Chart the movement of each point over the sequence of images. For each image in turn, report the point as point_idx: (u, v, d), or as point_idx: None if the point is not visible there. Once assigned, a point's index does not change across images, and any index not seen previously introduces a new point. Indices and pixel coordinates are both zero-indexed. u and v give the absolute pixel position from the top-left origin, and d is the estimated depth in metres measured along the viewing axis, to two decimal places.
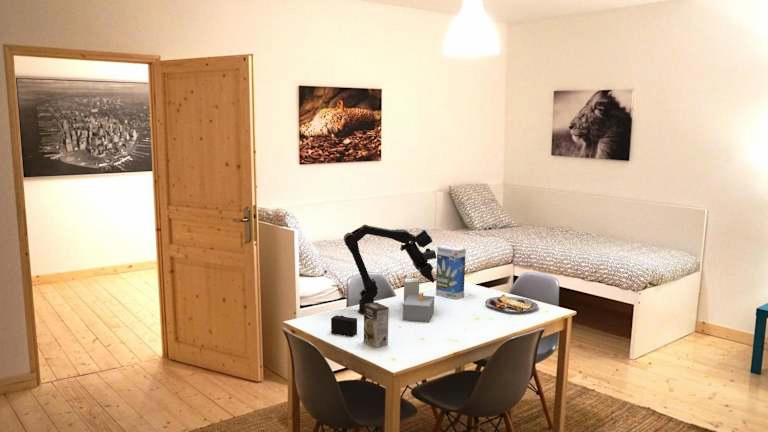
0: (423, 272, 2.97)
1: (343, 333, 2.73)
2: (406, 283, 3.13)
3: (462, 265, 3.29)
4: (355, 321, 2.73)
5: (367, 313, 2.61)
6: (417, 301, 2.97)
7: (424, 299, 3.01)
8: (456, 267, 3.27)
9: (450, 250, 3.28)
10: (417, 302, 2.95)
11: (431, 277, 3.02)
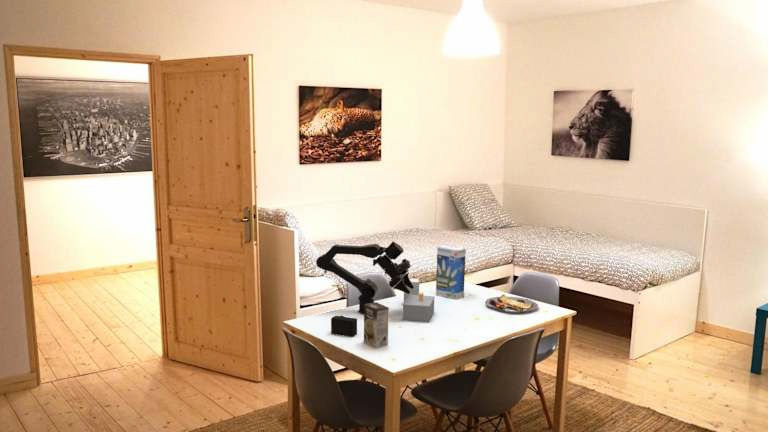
0: (392, 285, 2.91)
1: (343, 333, 2.73)
2: None
3: (462, 265, 3.29)
4: (355, 321, 2.73)
5: (367, 313, 2.61)
6: (417, 301, 2.97)
7: (424, 299, 3.01)
8: (456, 267, 3.27)
9: (450, 250, 3.28)
10: (417, 302, 2.95)
11: (405, 288, 2.94)
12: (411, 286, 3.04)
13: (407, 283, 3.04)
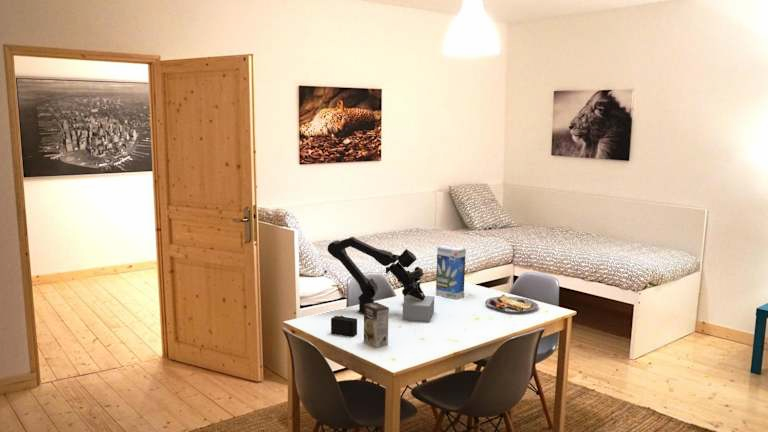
0: (405, 293, 2.91)
1: (343, 333, 2.73)
2: None
3: (462, 265, 3.29)
4: (355, 321, 2.72)
5: (367, 313, 2.61)
6: (417, 301, 2.97)
7: (424, 299, 3.01)
8: (456, 267, 3.27)
9: (450, 250, 3.28)
10: (417, 302, 2.95)
11: (419, 295, 2.96)
12: (423, 296, 3.00)
13: None
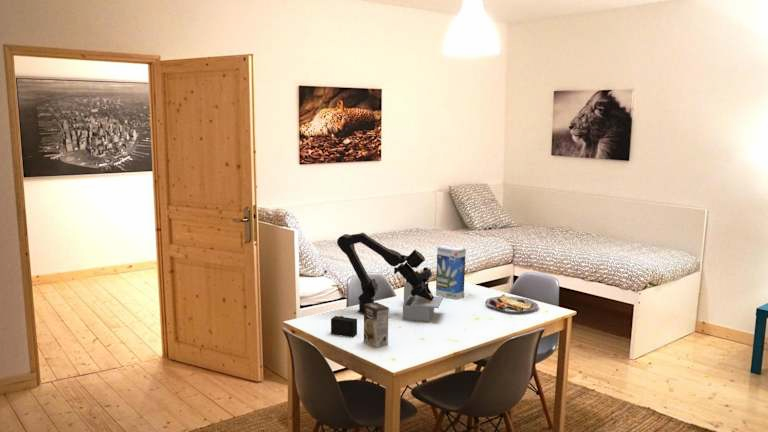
0: (413, 293, 2.90)
1: (343, 334, 2.72)
2: (406, 283, 3.13)
3: (462, 265, 3.29)
4: (355, 321, 2.72)
5: (367, 313, 2.61)
6: (425, 302, 2.96)
7: (432, 300, 3.00)
8: (456, 267, 3.27)
9: (450, 250, 3.28)
10: (425, 303, 2.94)
11: (427, 295, 2.95)
12: None
13: None
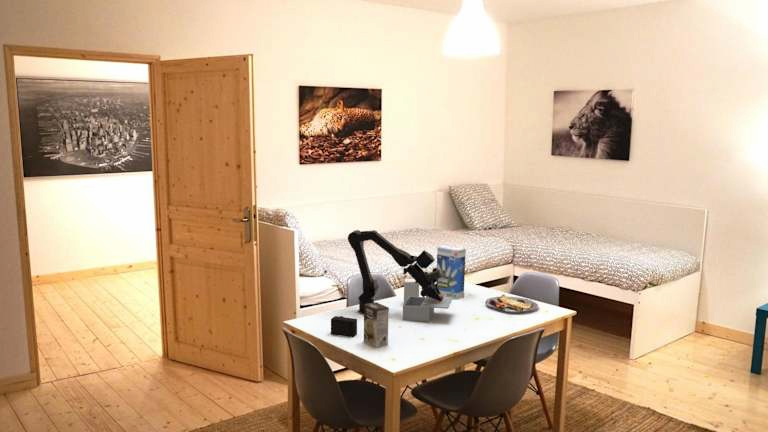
0: (423, 294, 2.89)
1: (343, 334, 2.72)
2: (406, 283, 3.13)
3: (462, 265, 3.29)
4: (355, 321, 2.72)
5: (367, 313, 2.61)
6: (435, 302, 2.95)
7: (442, 300, 2.99)
8: (456, 267, 3.27)
9: (450, 250, 3.28)
10: (435, 304, 2.93)
11: (437, 296, 2.94)
12: (440, 297, 2.98)
13: None
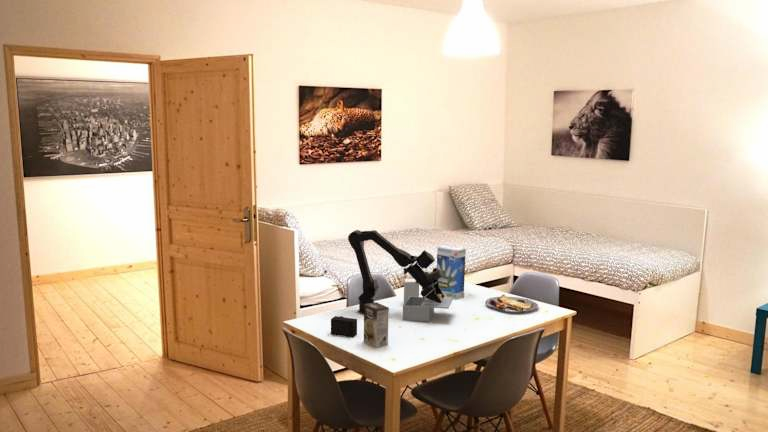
0: (423, 294, 2.89)
1: (343, 334, 2.72)
2: (406, 283, 3.13)
3: (462, 265, 3.29)
4: (355, 322, 2.72)
5: (367, 313, 2.61)
6: (435, 302, 2.95)
7: (442, 300, 2.99)
8: (456, 267, 3.27)
9: (450, 250, 3.28)
10: (435, 304, 2.93)
11: (436, 298, 2.92)
12: (442, 295, 3.01)
13: (438, 292, 3.02)
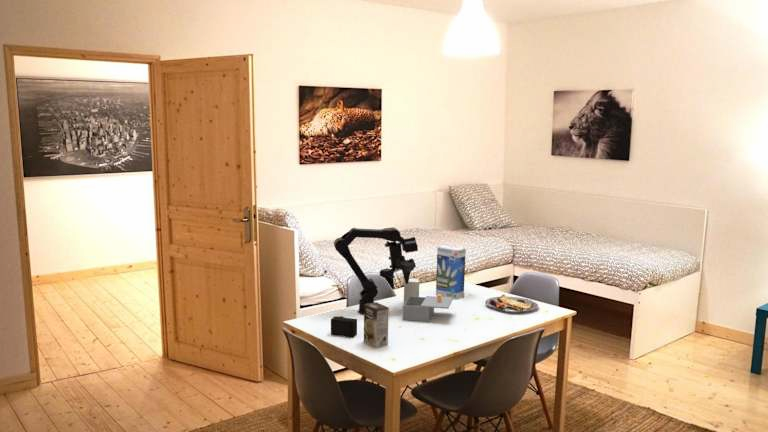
0: (380, 274, 3.01)
1: (343, 334, 2.72)
2: None
3: (462, 265, 3.29)
4: (355, 322, 2.72)
5: (367, 313, 2.61)
6: (435, 302, 2.95)
7: (442, 300, 2.99)
8: (456, 267, 3.27)
9: (450, 250, 3.28)
10: (435, 304, 2.93)
11: (391, 283, 3.02)
12: (406, 281, 3.09)
13: (405, 276, 3.09)
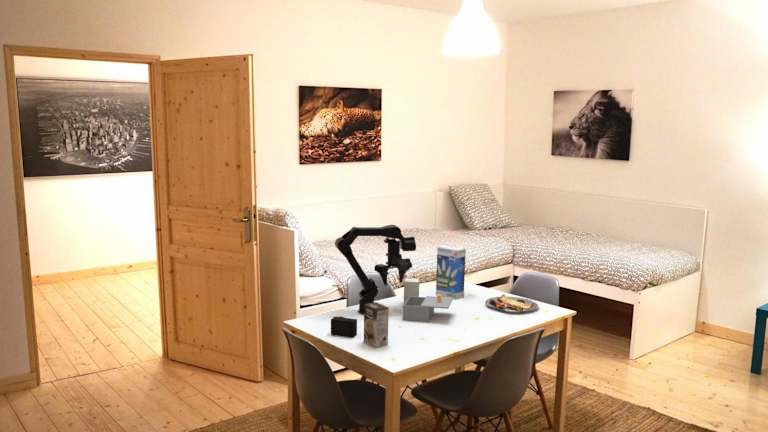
0: (375, 268, 3.02)
1: (343, 334, 2.72)
2: (406, 283, 3.13)
3: (462, 265, 3.29)
4: (355, 322, 2.72)
5: (367, 313, 2.61)
6: (435, 302, 2.95)
7: (442, 300, 2.99)
8: (456, 267, 3.27)
9: (450, 250, 3.28)
10: (435, 304, 2.93)
11: (384, 279, 3.03)
12: (400, 280, 3.10)
13: (400, 275, 3.10)
